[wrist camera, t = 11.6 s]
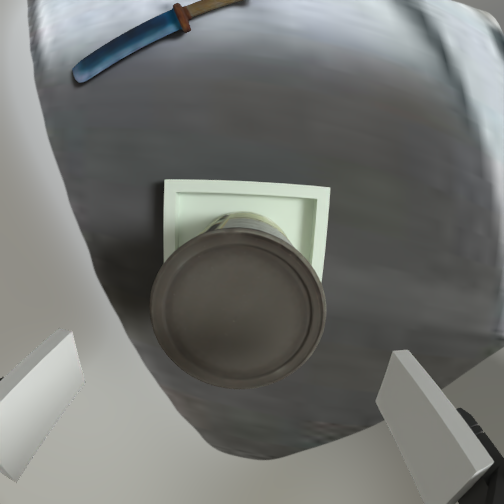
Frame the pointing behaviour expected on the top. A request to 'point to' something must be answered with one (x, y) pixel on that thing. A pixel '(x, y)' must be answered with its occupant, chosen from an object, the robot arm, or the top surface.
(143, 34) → the knife
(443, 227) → the top surface
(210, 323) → the coffee can
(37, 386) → the robot arm
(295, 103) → the top surface
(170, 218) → the tray
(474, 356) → the top surface
